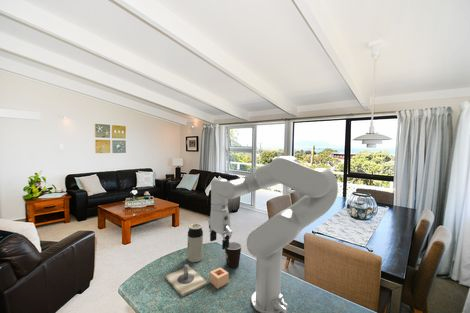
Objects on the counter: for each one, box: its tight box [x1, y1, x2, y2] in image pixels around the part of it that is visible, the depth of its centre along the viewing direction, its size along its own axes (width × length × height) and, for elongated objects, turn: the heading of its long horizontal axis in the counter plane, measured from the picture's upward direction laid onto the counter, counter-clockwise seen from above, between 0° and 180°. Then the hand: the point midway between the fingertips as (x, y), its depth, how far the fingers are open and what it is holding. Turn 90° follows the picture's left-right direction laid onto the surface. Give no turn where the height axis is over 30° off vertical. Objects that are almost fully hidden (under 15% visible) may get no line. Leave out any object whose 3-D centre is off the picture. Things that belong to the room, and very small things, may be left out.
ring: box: [209, 267, 230, 289], centre depth 94 cm, size 6×6×4 cm
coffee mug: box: [224, 241, 242, 269], centre depth 110 cm, size 12×9×10 cm
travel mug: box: [187, 223, 204, 263], centre depth 113 cm, size 8×8×18 cm
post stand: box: [165, 263, 208, 298], centre depth 94 cm, size 16×12×7 cm
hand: (219, 244), depth 95 cm, fingers open, 9 cm apart
